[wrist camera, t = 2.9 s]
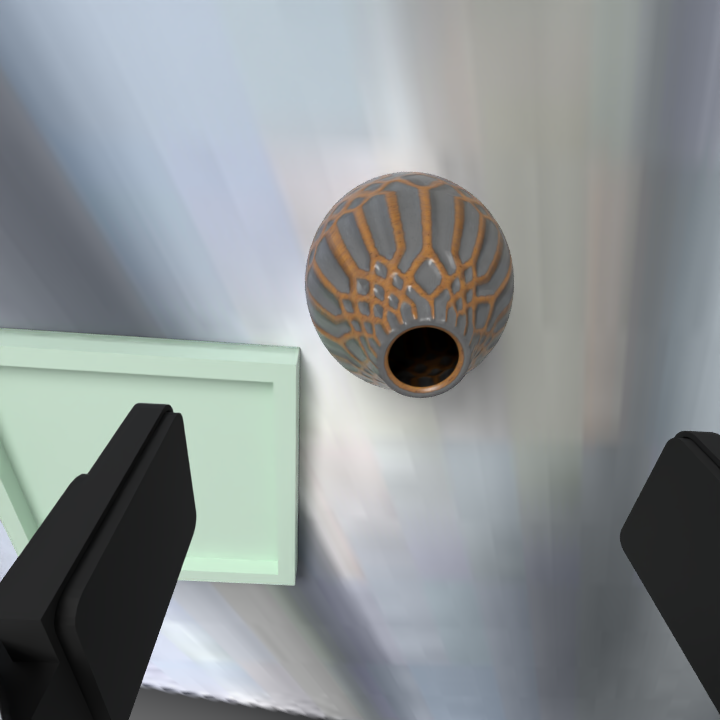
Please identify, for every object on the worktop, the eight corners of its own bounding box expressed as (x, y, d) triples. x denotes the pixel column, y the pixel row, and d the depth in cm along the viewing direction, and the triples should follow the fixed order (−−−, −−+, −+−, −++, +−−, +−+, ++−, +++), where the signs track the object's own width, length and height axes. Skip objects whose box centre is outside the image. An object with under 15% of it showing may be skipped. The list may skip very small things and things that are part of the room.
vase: (406, 350, 22) (430, 496, 14) (281, 261, 20) (233, 379, 12) (520, 234, 19) (624, 341, 11) (389, 114, 17) (413, 150, 9)
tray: (299, 347, 22) (296, 364, 20) (297, 563, 30) (294, 585, 29) (-60, 323, 21) (-87, 340, 20) (40, 551, 29) (26, 573, 28)
